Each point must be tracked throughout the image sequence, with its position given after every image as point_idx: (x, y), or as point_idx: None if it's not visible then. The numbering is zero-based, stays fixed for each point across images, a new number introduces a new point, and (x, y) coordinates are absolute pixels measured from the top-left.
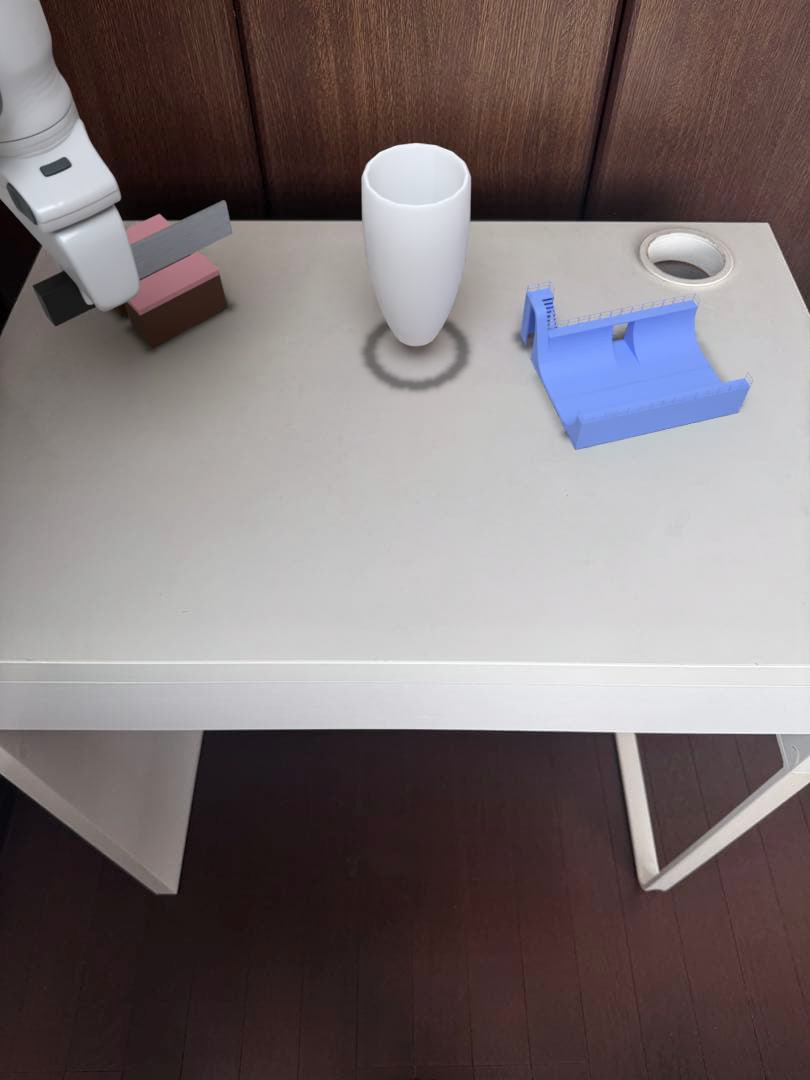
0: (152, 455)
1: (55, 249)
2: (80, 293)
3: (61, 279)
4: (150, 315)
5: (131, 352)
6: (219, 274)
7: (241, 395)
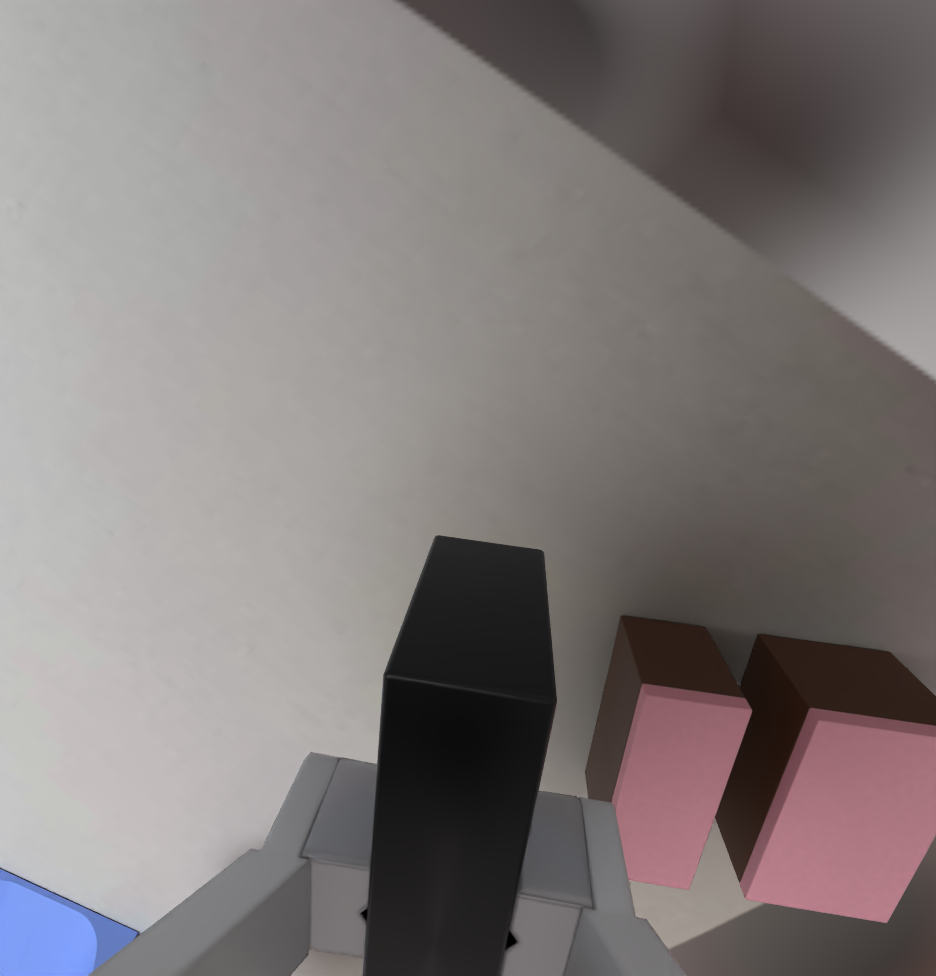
0: (359, 427)
1: None
2: (330, 804)
3: (446, 847)
4: (633, 694)
5: (650, 581)
6: None
7: (371, 644)
